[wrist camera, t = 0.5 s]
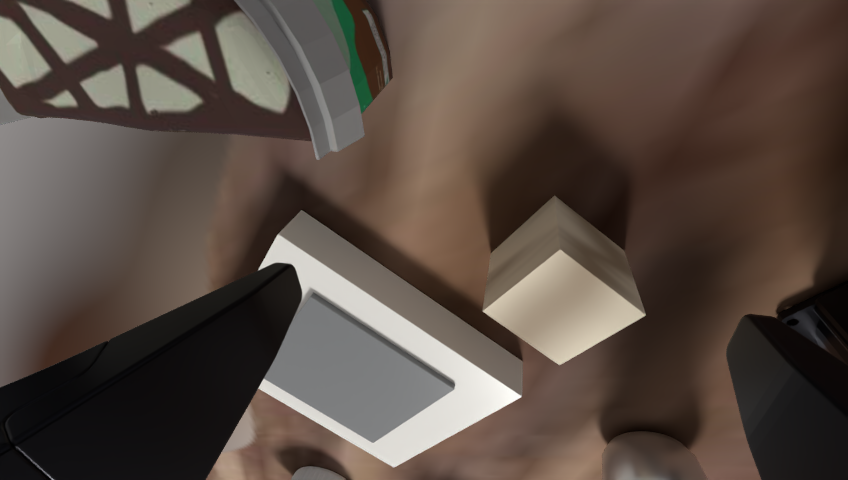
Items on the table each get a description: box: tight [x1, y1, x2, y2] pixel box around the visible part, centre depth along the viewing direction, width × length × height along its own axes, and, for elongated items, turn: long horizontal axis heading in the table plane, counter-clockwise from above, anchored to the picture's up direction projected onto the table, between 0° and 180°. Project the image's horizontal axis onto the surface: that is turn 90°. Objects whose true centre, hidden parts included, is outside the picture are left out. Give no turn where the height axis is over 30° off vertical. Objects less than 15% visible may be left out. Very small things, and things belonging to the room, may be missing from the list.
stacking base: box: [258, 210, 523, 467], centre depth 29 cm, size 18×16×3 cm
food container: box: [0, 0, 393, 159], centre depth 14 cm, size 12×6×10 cm, turn 90°
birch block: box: [483, 195, 646, 365], centre depth 20 cm, size 5×5×5 cm
